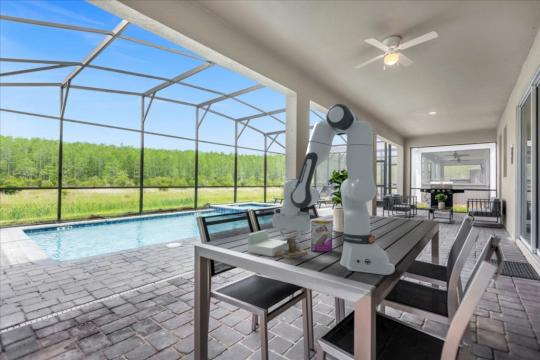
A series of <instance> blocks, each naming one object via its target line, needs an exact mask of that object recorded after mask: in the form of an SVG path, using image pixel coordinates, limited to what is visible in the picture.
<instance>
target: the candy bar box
mask: <svg viewBox="0 0 540 360" xmlns="http://www.w3.org/2000/svg"><path fill="white" fill-rule="evenodd" d="M333 225H334V224H333V220H332V219H318V218H315V219H314V218H310V250H311V252H325V253H327V252H330V253H332V252H333Z"/></svg>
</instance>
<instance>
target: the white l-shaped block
mask: <svg viewBox="0 0 540 360" xmlns="http://www.w3.org/2000/svg"><path fill="white" fill-rule="evenodd" d="M283 243H287V240H286V241H285V240H280V239H272V238H269V229H263V230H260V231H256V232H252V233H249V234H247V252H248V253H251V254H257V255H262V256H267V257H275V256H276V255H275V253H277V252H281V251H283Z"/></svg>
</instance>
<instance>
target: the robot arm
mask: <svg viewBox="0 0 540 360" xmlns="http://www.w3.org/2000/svg"><path fill="white" fill-rule="evenodd" d="M325 116H326V117H325V118H326V119H325V120H318V121H317V122H315V123H314V125H313V127H312V130H311V133H310V135H309V139H308V143H307V148H306V152H305V156H304V158H303V161H302V164H301V167H300V171H299V174H298V178H293V179H291V178H290V179H287V180H285V182H284V185H283V188H282V189H283V191H282V198H283V202H282V206H281V207H280V206H279V207H278V208H274V209H273V213H274V214H273V216H272V219H271V220H272V223H271V224H272V227H274V228H278V232H279V236H280V237H281V238H284V237H285V233H284V232H283V229H285V230H293V231H297V232H298V233H299V234H298V235H296V240H299V241H300V240H301V238H302V235H303V233H304V232H305V233H306V232H309V231H311V216H310V213H308V212H307V211H306V212H304V211H301V209H305V208H307V207H310V206H313V205H315V204H317V203H318V202H319V200H320V192H319V190H318V189H317V188H316V187H314V186H312V182H313V179H314V175H315V172H316V169H317V168H318V167H319V166H320V165H321V164H322V163H323V162H325V161H326V160H327V159H328V158H329V155H330V153H331V150H332V146H333V141H334V138H335V137H336V136H343V135H346V149H345V150H346V151H345V165H346V173H347V178H346V179H345V180H343V182H342V183H341V184H340V189H339V190H340V194H341V202H342V204H341V205H342V212H343V232H342V239H341V240H342V244H343V247H342V253H341V257H340V261H339V265H341V266H342V267H344V268H346V269H347V270H348V271H351V272H352V271H354V272H360V273H369V274H375V275H376V274H377V275H382V276H383V275H384V276H388V275H392V274H393V273H394V272H395V271H396V268H395V265H394V264H393V263H390V260H389V256H388V252H386V251H385V250H383V249H382V247H380V246H379V245H377V244H376V241H375V240H376V238H375V236H376V235H373V234H371V216H370V213H369V210H368V204H367V203H368V202H370V201H372V200H374V199H375V197H376V195H377V193H378V191H377V190H378V188H377V186H376V183H375V179H374V172H373V146H374V142H373V141H374V135H373V127H372V125H371V123H369V122H368V121H365V120H359V119H358V117H357V115H356V114H355V113H354V112H353V110H352V109H350V107H348V106H347V105H345V104H342V103H335V104H333V105H332V106H330V107H329V108H328V110H327V111H326V115H325Z"/></svg>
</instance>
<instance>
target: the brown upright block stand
mask: <svg viewBox="0 0 540 360" xmlns="http://www.w3.org/2000/svg"><path fill="white" fill-rule="evenodd" d="M286 241H287V243H283V251H281V252H277V253H275V256H276V257H280V258H283V259H285V260H286V259H287V260H291V259H294V258H298V257H301V256H303V255H306V254H308V251H306V250H303V249H300V247H301V246H300V240H297V237H296V238H295V237H288V238H286Z"/></svg>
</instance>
